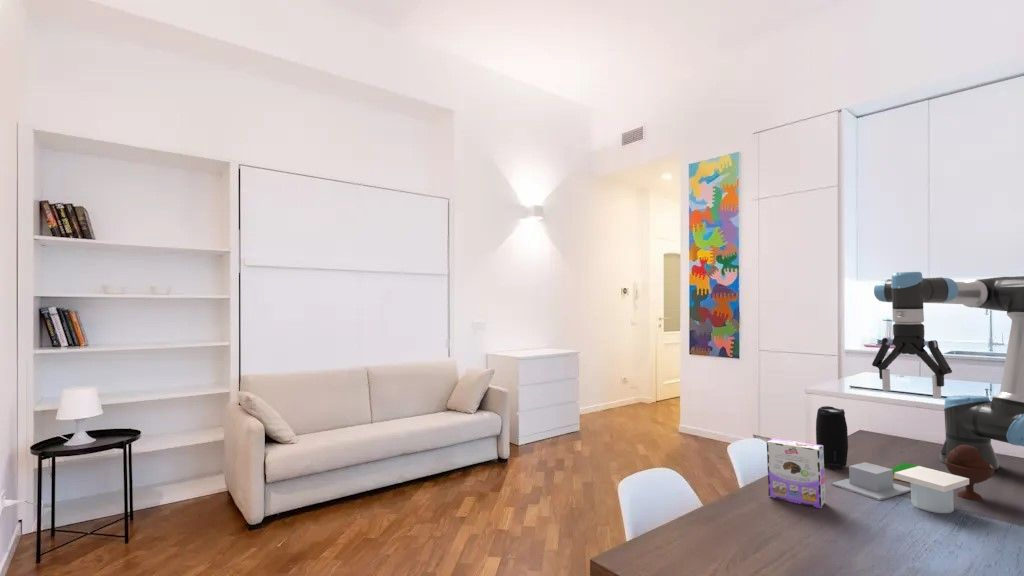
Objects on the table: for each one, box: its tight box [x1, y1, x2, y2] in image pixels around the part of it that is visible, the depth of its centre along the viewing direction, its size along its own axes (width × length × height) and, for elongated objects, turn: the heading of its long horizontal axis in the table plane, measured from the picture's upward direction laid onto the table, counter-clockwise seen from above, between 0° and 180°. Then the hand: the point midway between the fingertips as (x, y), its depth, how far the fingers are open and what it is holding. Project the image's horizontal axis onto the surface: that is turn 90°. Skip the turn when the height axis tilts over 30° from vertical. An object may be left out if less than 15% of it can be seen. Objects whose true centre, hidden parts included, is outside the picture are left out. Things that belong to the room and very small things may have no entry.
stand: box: [831, 461, 911, 502], centre depth 158 cm, size 16×14×6 cm
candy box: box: [766, 437, 826, 509], centre depth 150 cm, size 14×6×16 cm, turn 47°
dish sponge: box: [891, 462, 928, 484], centre depth 168 cm, size 7×14×2 cm, turn 125°
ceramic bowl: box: [910, 483, 955, 514], centre depth 144 cm, size 9×9×7 cm
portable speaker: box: [815, 405, 849, 470], centre depth 179 cm, size 9×9×20 cm
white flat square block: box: [894, 465, 969, 492], centre depth 144 cm, size 12×12×2 cm
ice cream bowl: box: [944, 445, 996, 501], centre depth 150 cm, size 11×11×15 cm
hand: (910, 393), depth 157 cm, fingers open, 13 cm apart
